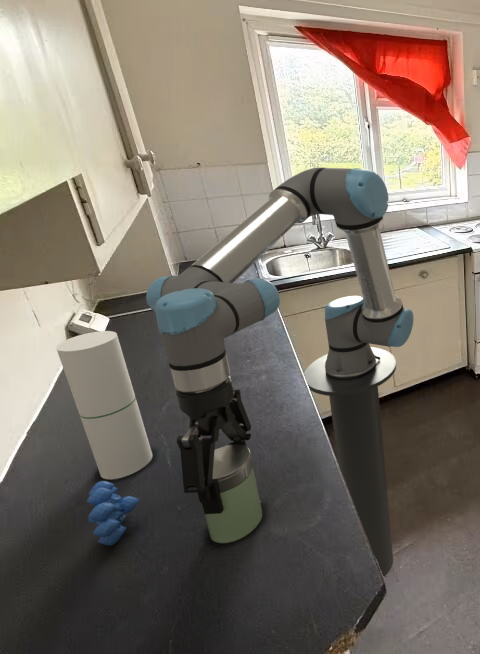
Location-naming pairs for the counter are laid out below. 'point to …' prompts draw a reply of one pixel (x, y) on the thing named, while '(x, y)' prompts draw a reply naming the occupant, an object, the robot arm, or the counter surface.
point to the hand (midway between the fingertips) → (229, 490)
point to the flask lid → (231, 466)
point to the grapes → (109, 511)
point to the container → (106, 402)
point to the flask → (236, 512)
